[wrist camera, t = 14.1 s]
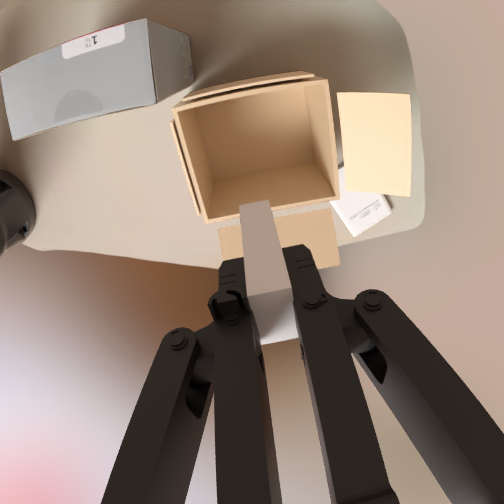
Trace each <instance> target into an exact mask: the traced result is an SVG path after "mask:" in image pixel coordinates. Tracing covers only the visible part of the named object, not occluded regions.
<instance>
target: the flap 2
mask: <svg viewBox="0 0 504 504" xmlns="http://www.w3.org/2000/svg"><path fill="white" fill-rule="evenodd" d="M337 99H338V107H339V116H340V125H341V135H342V146H343V157H344V171H345V186H346V191H356V192H368V193H378V194H388V195H397V196H406V197H410V187H411V107H410V94H402V93H381V92H337Z"/></svg>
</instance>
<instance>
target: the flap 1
mask: <svg viewBox="0 0 504 504" xmlns="http://www.w3.org/2000/svg"><path fill="white" fill-rule="evenodd" d="M274 222H275V226H276V229H277V233H278V237H279V241H280V244H281V248H285V247H290V246H295V245H299V244H304V245H305V246H306V247H307V248H309V249H310V251H311V253H312V256H313V259H314V261H315V264H316V267H317V269H321V268H326V267H332V266H336V265H340V259H339V253H338V247H337V241H336V235H335V229H334V224H333V218H332V213H331V208H329V209H323V210H318V211H312V212H306V213H300V214H295V215H289V216H284V217H278V218H274ZM218 234H219V239H220V245H221V250H222V255H223V261H225V260H230V259H234V258H239V257H244V256H243V245H242V233H241V225H236V226H231V227H225V228H220V229H218Z"/></svg>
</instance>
